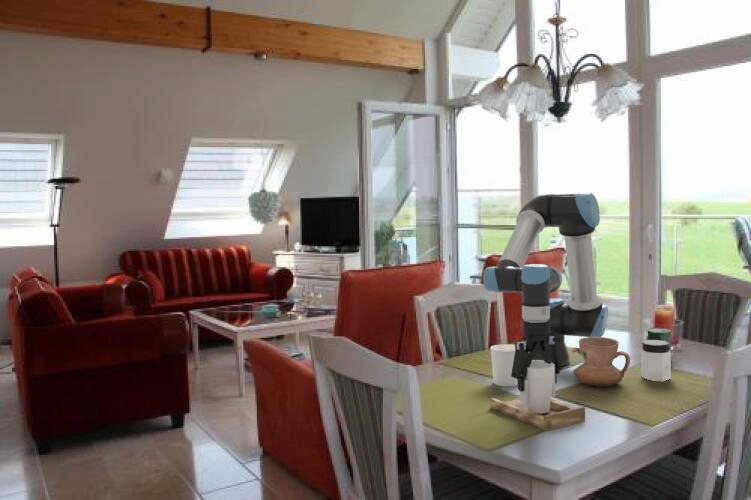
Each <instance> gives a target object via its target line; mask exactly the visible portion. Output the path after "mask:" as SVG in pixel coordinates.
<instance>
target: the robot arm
mask: <svg viewBox="0 0 751 500" xmlns="http://www.w3.org/2000/svg"><path fill="white" fill-rule="evenodd" d="M600 213H601V212H600V207H599V202H598V200H597V197H596V195H595V194H594V193H592V192H590V191H580V190H577V191H566V192H565V191H564V192H563V191H562V192H546V193H541V194H539V195H537V196H536V197H533V198H532V199H531V200H529V201H528V202H527V203H526V204H524V205H523V206H522V208H521V209H520V211H519V213H518V214H517V216H516V218H515V222H516V223H515V224H516V225H515V227H514V229H513V231H512V233H511V236H510V237H509V240H508V242H507V244H506V246H505V248H504V250H503V252H502V254H501V256H500V258H499V260H498V262H497V264H496V266H487V267H486V268H485V269H484V271H483V277H482V279H483V280H482V282H483V285H484V288H485V289H486V290H487V291H488V292H495V293H496V292H497V293H519V294H520V293H521V300H522V301H521V309H522V310H521V312H522V314H521V315H522V316H521V317H522V319H523V321H522V334H523V337H524V338H523V340H522V341H520V342H519V341H515V343H514V345H515V356H514V362H513V367H512V373H511V376H512V377H513V378H516V379H517V380H518V385H517V391H519V399H520V401H521V402H523V403H526V404H527V403H528V380H526V379H525V378H526V376H527V368H528V367H530V365H531V362H532V360H543V361H544V362H545V363H548V364H551V363H553V364H555V373H554V376H553V385H552V394H551V398H555V397H556V385H557V375H559V374H560V371H562V370H563V367H564V366H568V365H569V364H570V362H571V359H570V353H569V351H568V349H567V344H566V343H565V336H569V337H571V336H572V337H581V338H587V337H604V334H605V332H606V329H607V324H608V323H607V322H608V315H609V307H608V305H606V304H603V300H602V299H601V297H600V296H598V295H597V285H596V275H595V273H596V272H595V265H594V264H595V263H594V255H593V254H594V253H593V243H592V234H593V233H595V231H596V227H598V226H599V225H600V218H601V216H600ZM545 228H558V231H559V235H560V236H562V237H563V238H564V245H565V253H566V263H567V270H568V271H567V273H568V280H569V281H568V282H569V289H570V290H569V291H570V297H569V298H568V300H567V302H565V300H564V298H557V297H555V298H551V297H550V295H551V294H552V293H555V292H556V291H557V290H558V289H559V288H560V287H561V286H562V283H563V277H562V274H561V272H560V270H559V269H557V268H556V267H553V266H549V265H547V264H544V263H531V264H529V263H528V264H526V262H527V259H528V257H529V255H530V252H531V251H532V248H533V245H534V244H535V241H536V239H537V237H538V234H541V233H542V232H543V230H544V229H545Z"/></svg>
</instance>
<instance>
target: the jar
mask: <svg viewBox="0 0 751 500" xmlns="http://www.w3.org/2000/svg"><path fill="white" fill-rule="evenodd" d="M641 345H642V346H641V349H640V377H641V378H643V379H644V378H645V379H644V380H646V379H647V380H646V381H648V380H651V382H659V381H660V382H659V383H662V382H666V380H667V381H669V379H670V380H671V379H672V376H671V375H672V374H671V372H672V369H671V366H672V363H671V362H672V353H671V352H672V350H671V351H669V343H668V342H666V341H661V340H648V339H647V340H643V341H642V344H641Z"/></svg>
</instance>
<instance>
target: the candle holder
mask: <svg viewBox="0 0 751 500" xmlns="http://www.w3.org/2000/svg"><path fill="white" fill-rule="evenodd" d="M489 349H490V355H491V370H492V379H493V384H494V385H495V386H499V387H504V388H505V387H506V388H507V387H508V388H509V387H510V388H511V387H516V386H518V380H517V379H516V378H513V377H512V376H511V373H512V367H513V362H514V356H515V344H509V343H504V344H495V345H491V346H490V348H489Z"/></svg>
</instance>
